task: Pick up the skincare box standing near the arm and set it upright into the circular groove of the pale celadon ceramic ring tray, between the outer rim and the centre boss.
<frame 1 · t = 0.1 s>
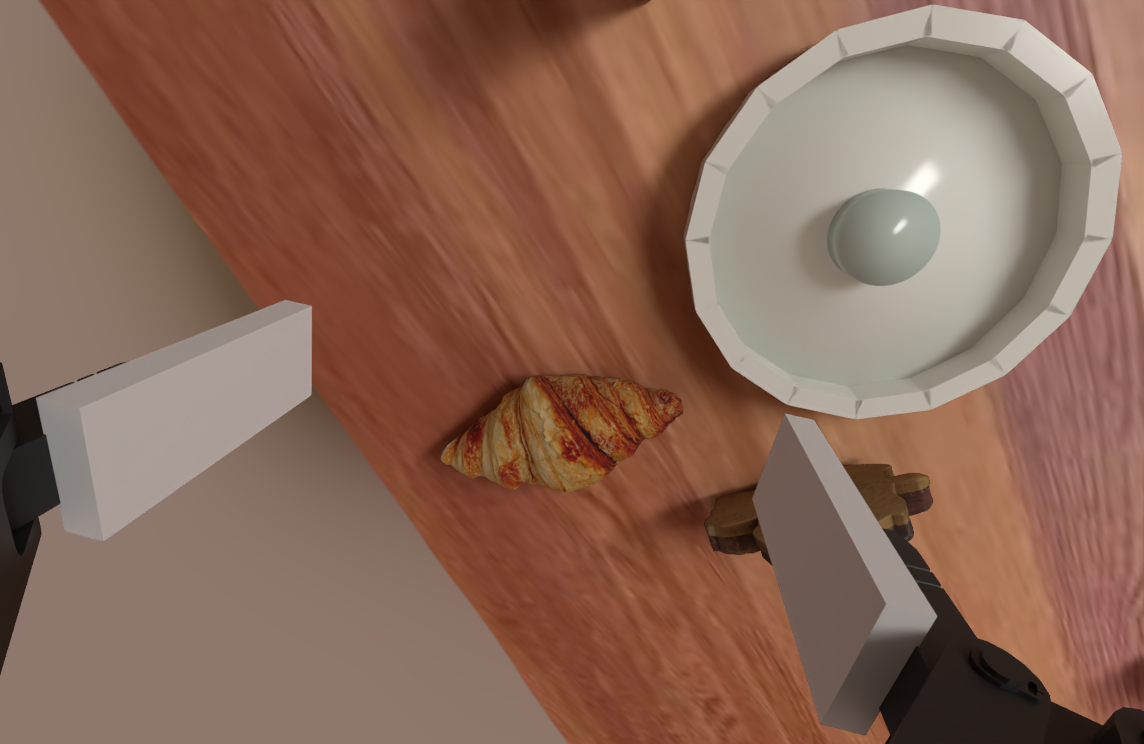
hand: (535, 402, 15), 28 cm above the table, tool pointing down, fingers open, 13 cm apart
wooden carving: (798, 481, 46), on the table
croissant: (558, 417, 47), on the table
ring tray: (868, 232, 38), on the table
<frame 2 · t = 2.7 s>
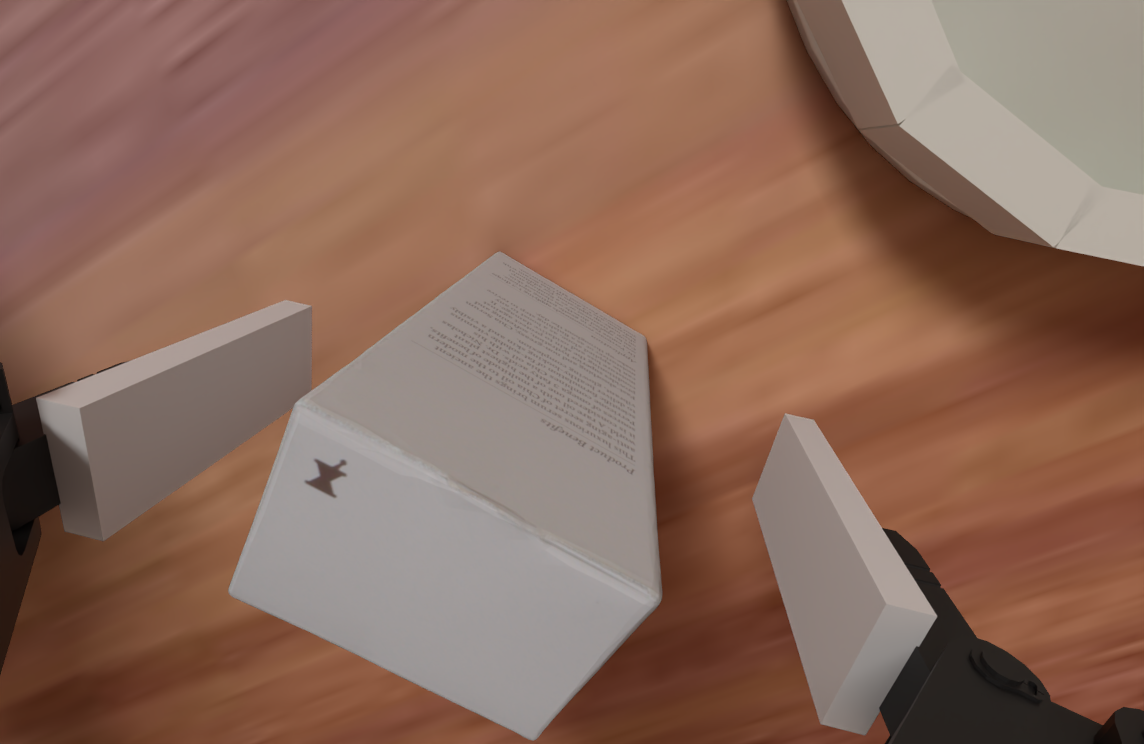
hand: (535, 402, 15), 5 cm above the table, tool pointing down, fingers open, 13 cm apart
skincare box: (548, 341, 20), on the table
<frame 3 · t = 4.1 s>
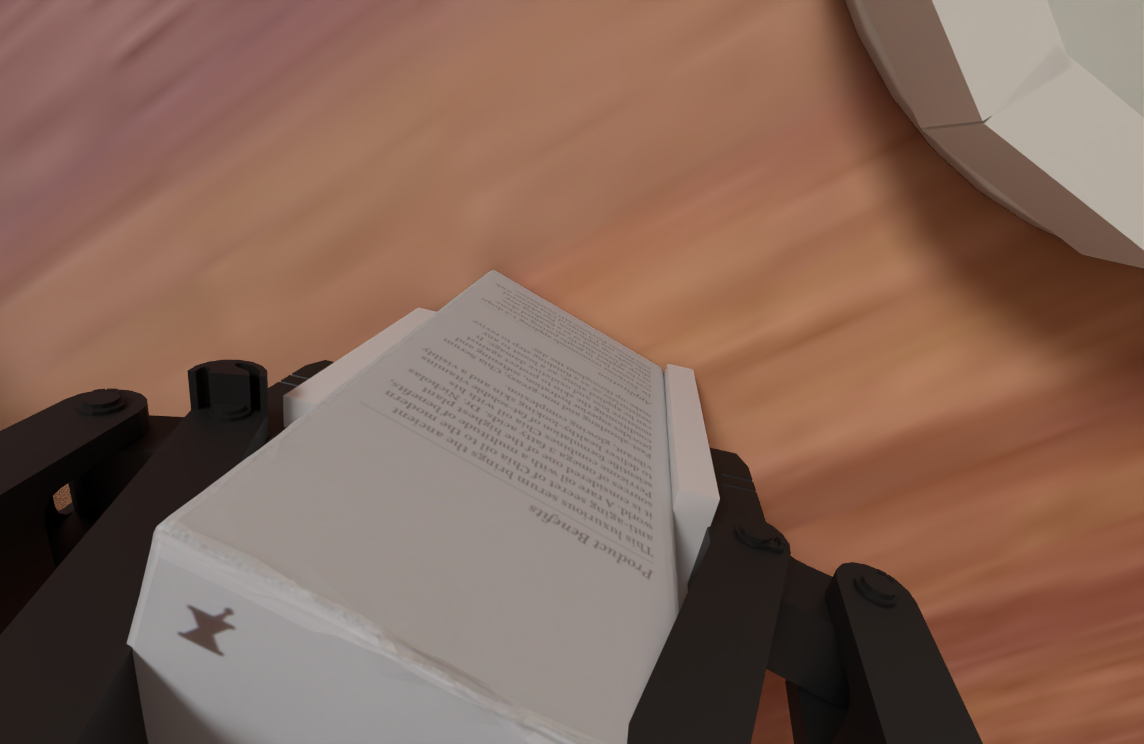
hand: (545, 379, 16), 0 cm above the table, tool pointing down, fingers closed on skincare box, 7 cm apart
skincare box: (550, 371, 17), on the table, touching gripper
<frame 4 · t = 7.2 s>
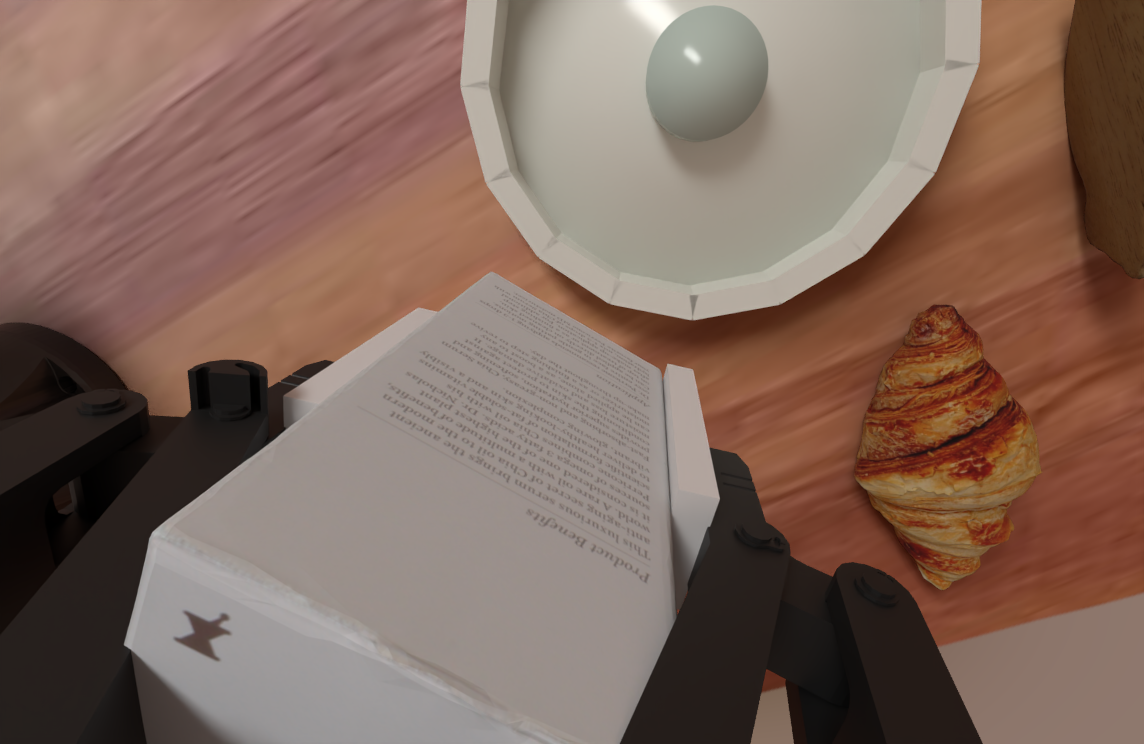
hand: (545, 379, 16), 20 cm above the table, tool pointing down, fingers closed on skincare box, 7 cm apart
wooden carving: (1084, 111, 29), on the table
croissant: (918, 443, 37), on the table
skincare box: (549, 373, 17), point 19 cm above the table, touching gripper
ring tray: (699, 84, 31), on the table
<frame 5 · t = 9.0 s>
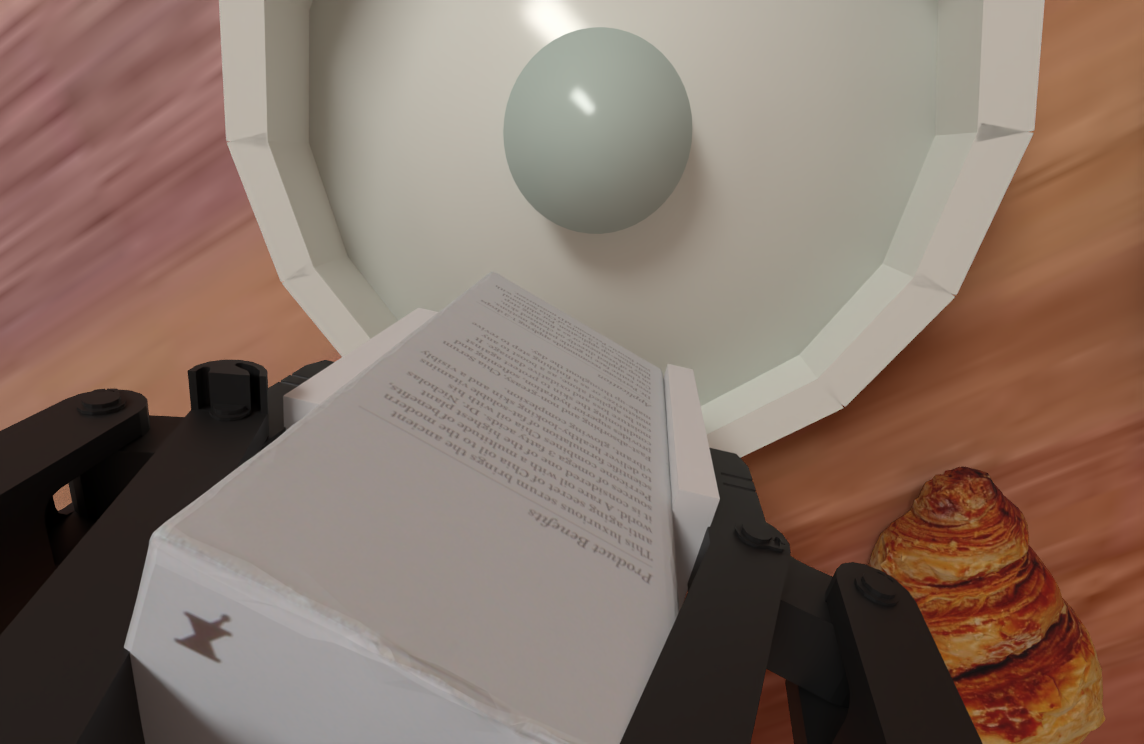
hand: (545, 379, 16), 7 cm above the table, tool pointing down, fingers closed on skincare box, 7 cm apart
croissant: (923, 625, 27), on the table
skincare box: (550, 373, 17), point 7 cm above the table, touching gripper
ring tray: (603, 140, 20), on the table
when the fingers open (3 cm above the table, at t = 10.3 s): skincare box drops 2 cm, resting on ring tray.
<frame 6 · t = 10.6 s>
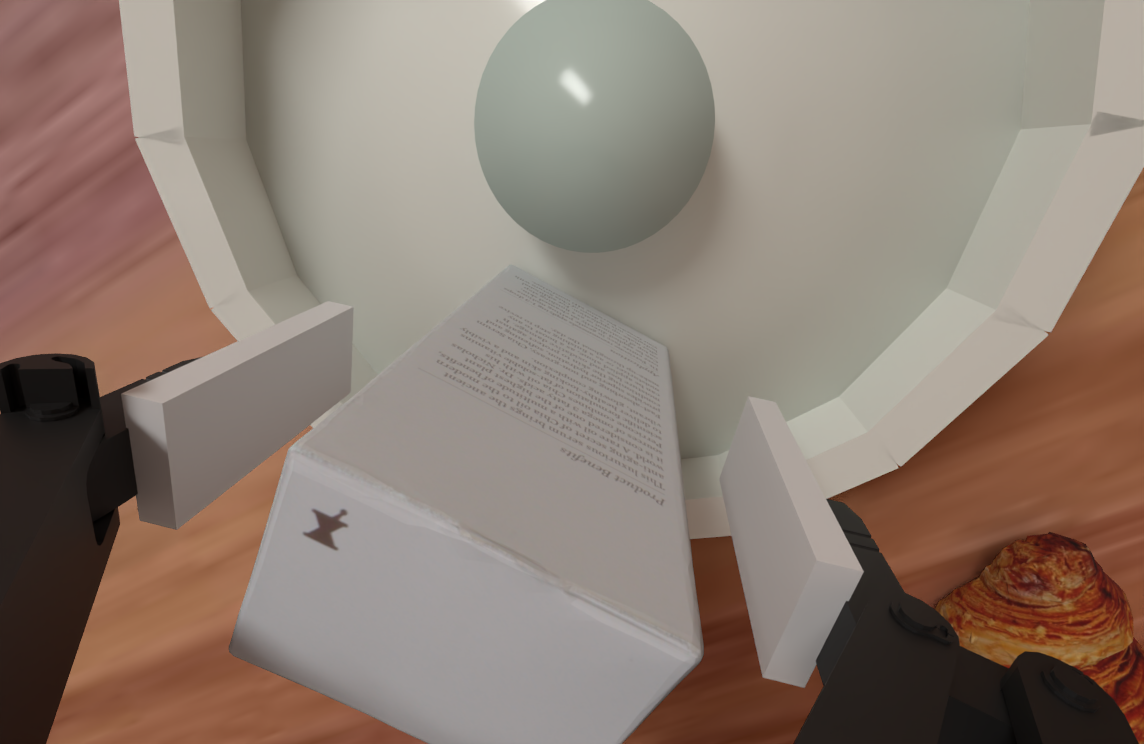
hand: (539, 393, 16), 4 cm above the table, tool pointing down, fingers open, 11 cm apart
croissant: (980, 702, 23), on the table
skincare box: (565, 355, 19), point 1 cm above the table, touching ring tray
ring tray: (602, 136, 17), on the table
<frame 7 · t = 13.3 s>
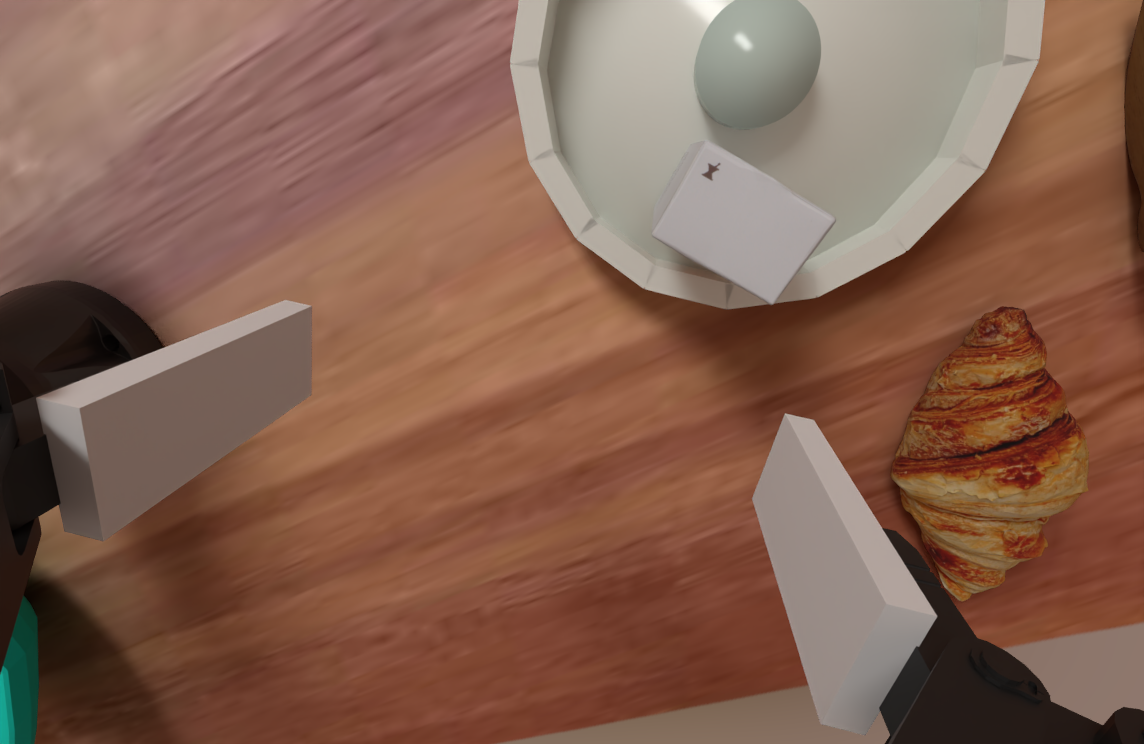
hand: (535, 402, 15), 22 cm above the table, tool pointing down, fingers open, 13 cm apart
croissant: (958, 450, 37), on the table
skincare box: (714, 202, 32), point 1 cm above the table, touching ring tray
ring tray: (747, 72, 30), on the table
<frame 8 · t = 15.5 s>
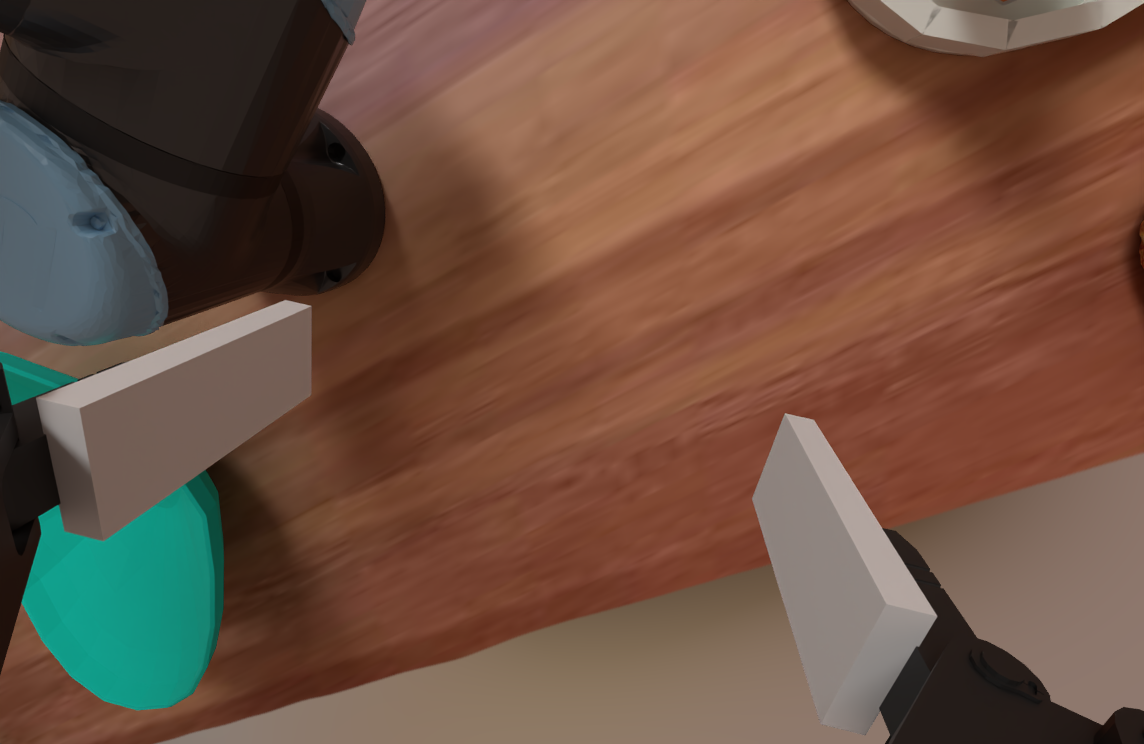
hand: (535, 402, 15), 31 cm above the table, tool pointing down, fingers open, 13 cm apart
table top decor: (151, 464, 58), on the table
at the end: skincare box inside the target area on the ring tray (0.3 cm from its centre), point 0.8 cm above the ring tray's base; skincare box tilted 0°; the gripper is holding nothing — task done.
